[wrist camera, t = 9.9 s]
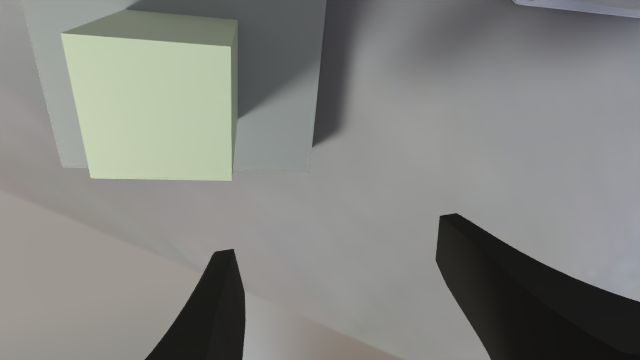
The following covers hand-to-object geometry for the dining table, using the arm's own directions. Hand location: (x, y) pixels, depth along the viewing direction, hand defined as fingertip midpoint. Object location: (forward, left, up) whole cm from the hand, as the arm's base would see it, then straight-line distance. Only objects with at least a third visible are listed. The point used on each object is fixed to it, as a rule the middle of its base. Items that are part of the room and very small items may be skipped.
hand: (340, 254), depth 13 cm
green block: (+6, -4, -8) cm, 11 cm away
